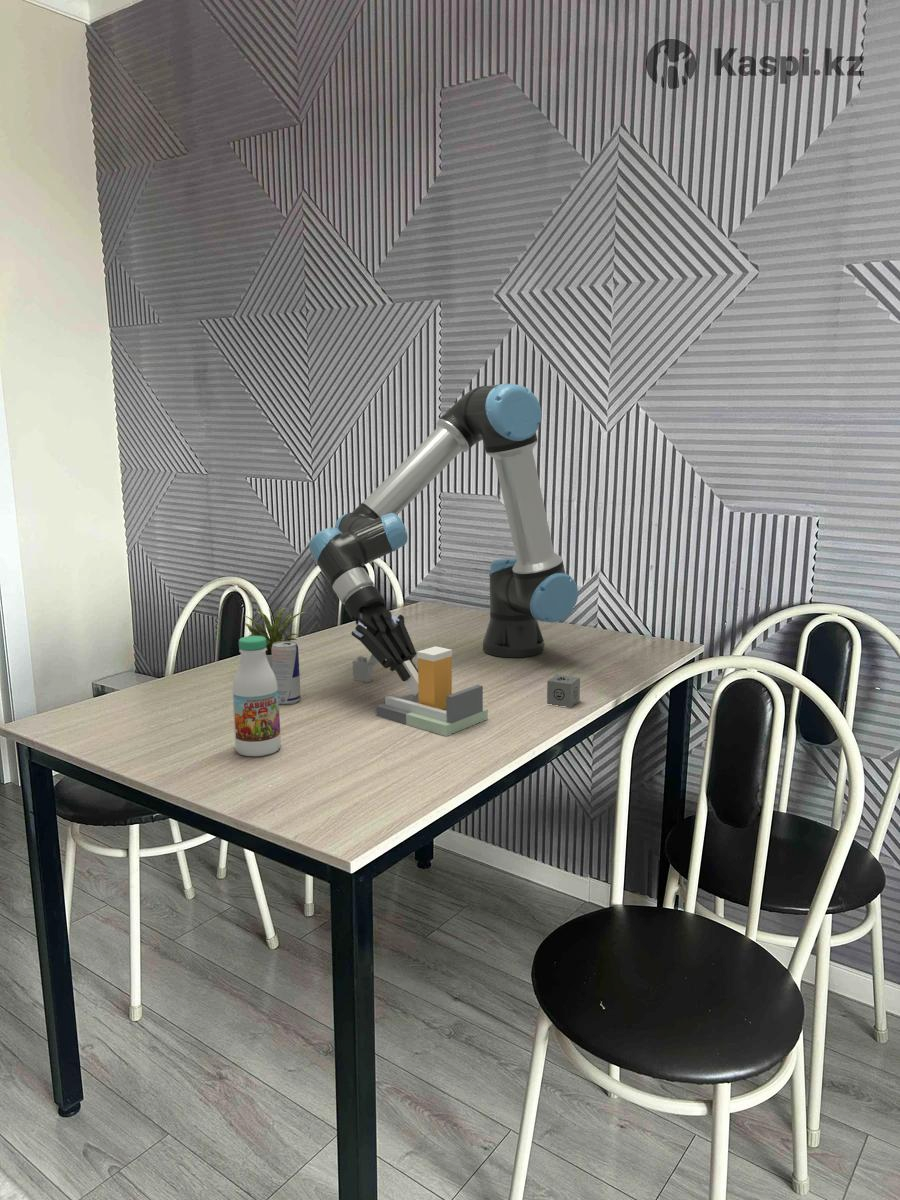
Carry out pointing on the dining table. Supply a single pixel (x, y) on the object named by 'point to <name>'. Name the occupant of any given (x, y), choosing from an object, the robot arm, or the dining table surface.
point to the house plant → (272, 630)
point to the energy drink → (286, 671)
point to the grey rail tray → (437, 711)
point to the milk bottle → (255, 701)
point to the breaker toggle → (434, 676)
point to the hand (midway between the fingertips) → (420, 691)
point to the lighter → (363, 668)
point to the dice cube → (563, 690)
